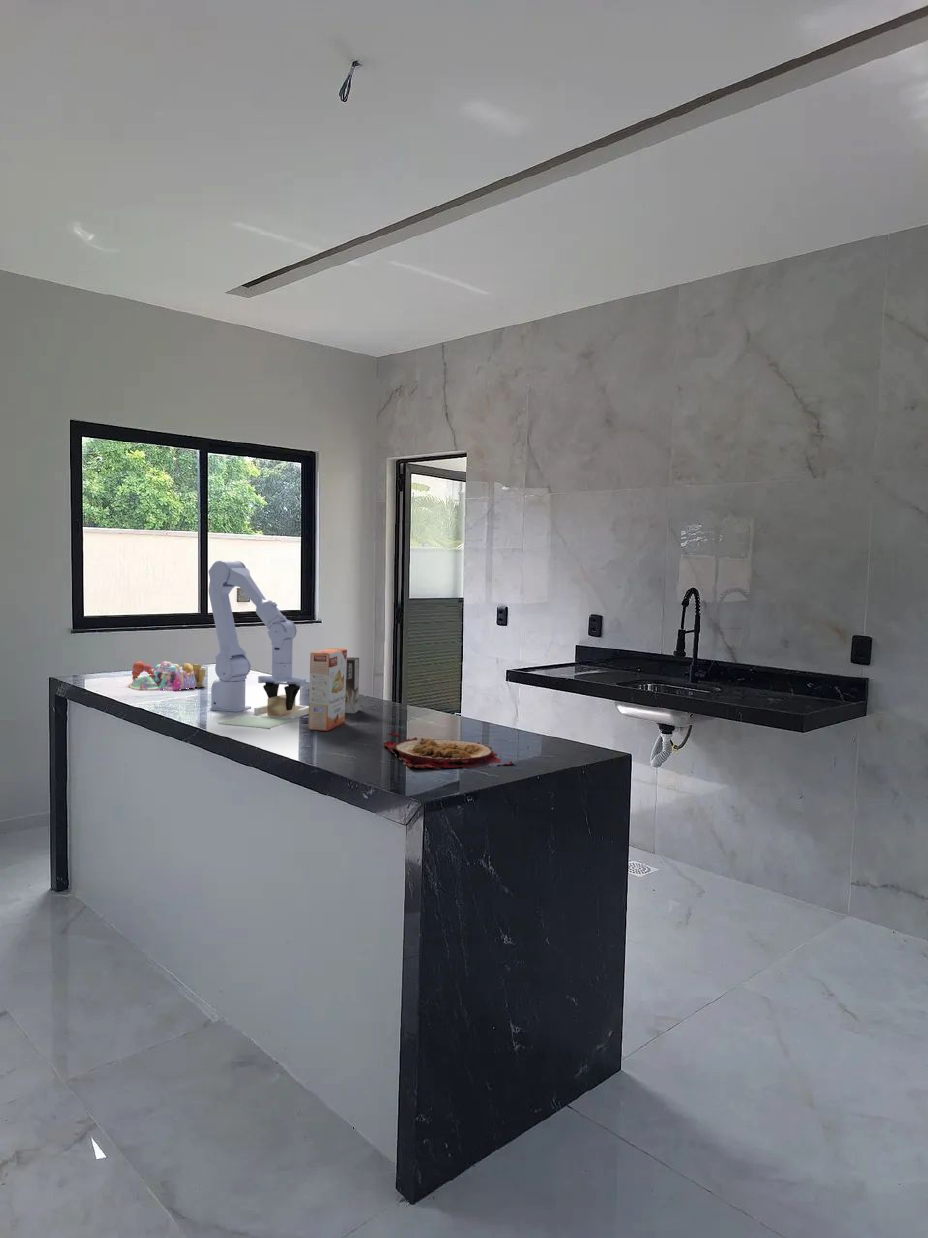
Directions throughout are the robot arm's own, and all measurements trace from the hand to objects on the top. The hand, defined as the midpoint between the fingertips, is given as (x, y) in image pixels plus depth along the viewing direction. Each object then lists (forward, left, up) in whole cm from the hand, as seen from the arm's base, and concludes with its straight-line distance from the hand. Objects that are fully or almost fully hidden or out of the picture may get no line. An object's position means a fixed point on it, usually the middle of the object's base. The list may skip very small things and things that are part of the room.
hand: (281, 709), depth 254 cm
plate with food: (+61, -29, -2) cm, 68 cm away
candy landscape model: (-62, +30, -2) cm, 69 cm away
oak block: (0, 0, -1) cm, 1 cm away
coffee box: (+13, +13, -2) cm, 18 cm away
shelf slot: (0, 0, -2) cm, 2 cm away
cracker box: (+20, -10, -2) cm, 22 cm away
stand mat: (0, -14, -2) cm, 14 cm away
